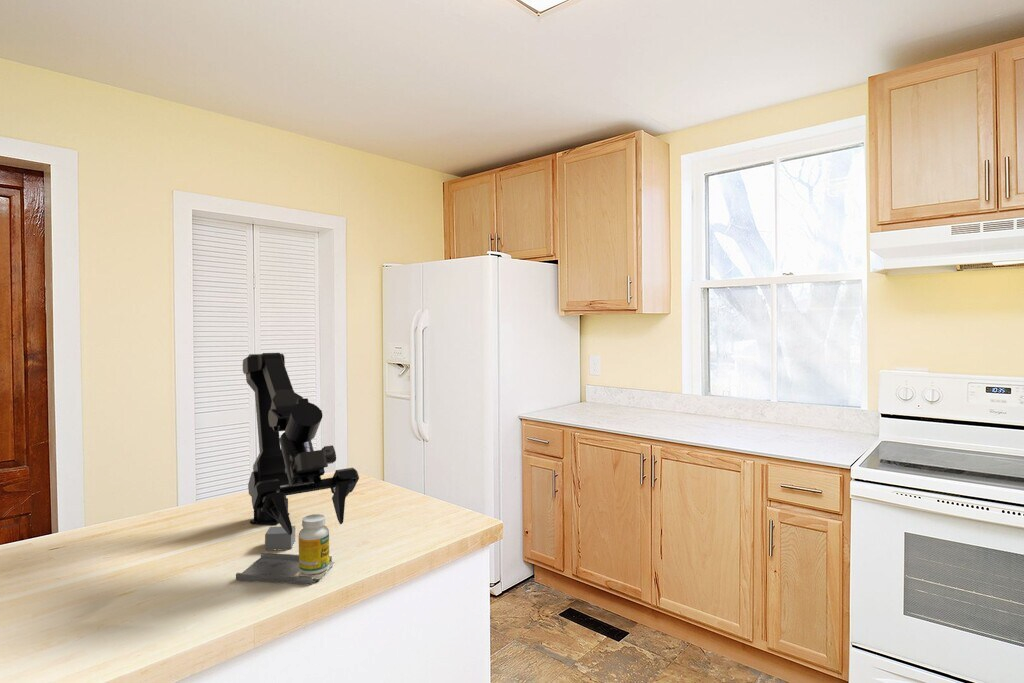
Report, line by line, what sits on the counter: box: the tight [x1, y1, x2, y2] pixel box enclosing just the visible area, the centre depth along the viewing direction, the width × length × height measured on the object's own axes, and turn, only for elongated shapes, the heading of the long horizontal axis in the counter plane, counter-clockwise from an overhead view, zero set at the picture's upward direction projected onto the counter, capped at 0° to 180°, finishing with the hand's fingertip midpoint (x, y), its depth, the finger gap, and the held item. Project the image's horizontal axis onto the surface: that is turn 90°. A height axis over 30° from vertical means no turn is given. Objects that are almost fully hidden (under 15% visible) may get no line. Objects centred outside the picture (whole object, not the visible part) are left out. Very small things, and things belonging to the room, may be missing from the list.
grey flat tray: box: [235, 552, 336, 585], centre depth 104 cm, size 15×9×1 cm, turn 86°
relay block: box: [264, 525, 296, 551], centre depth 115 cm, size 5×4×4 cm
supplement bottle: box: [298, 513, 330, 574], centre depth 103 cm, size 5×5×10 cm
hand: (316, 528), depth 102 cm, fingers open, 9 cm apart
